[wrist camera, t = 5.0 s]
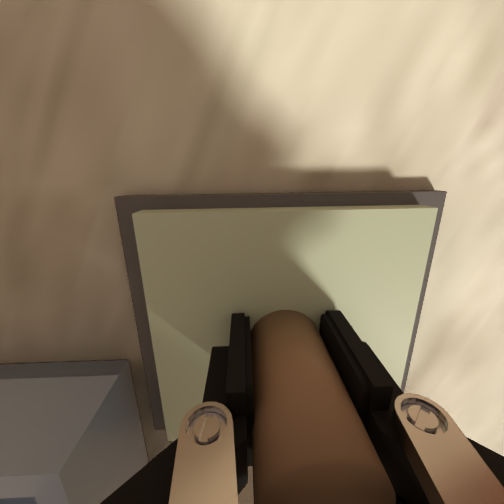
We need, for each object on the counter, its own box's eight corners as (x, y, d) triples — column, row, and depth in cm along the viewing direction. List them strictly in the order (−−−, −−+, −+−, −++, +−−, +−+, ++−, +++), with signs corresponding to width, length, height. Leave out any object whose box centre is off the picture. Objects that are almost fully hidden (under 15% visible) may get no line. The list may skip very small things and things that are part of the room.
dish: (128, 359, 13) (58, 474, 8) (154, 492, 16) (115, 633, 11) (-80, 367, 12) (-284, 490, 8) (-12, 501, 15) (-127, 650, 11)
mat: (435, 190, 11) (446, 191, 10) (391, 409, 14) (397, 419, 14) (121, 195, 10) (114, 197, 10) (158, 419, 14) (154, 429, 13)
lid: (419, 204, 10) (709, 257, 4) (381, 413, 13) (502, 624, 7) (142, 209, 10) (-38, 277, 4) (173, 421, 13) (109, 651, 7)
